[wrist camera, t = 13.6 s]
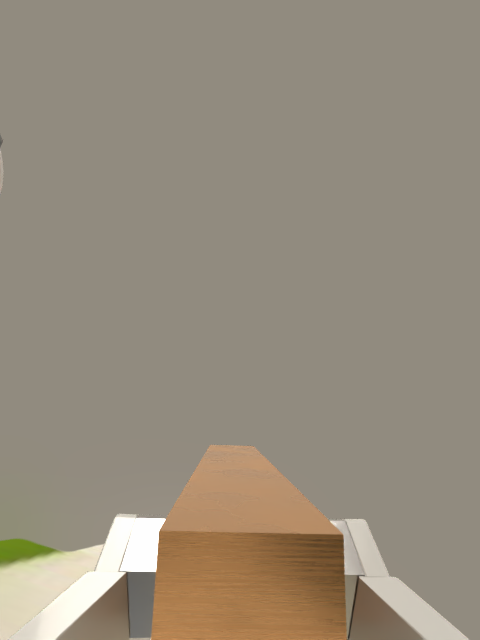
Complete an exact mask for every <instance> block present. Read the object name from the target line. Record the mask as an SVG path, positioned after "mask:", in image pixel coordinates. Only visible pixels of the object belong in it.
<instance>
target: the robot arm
mask: <svg viewBox="0 0 480 640" xmlns="http://www.w3.org/2000/svg"><path fill="white" fill-rule="evenodd" d="M2 142H3V140H2V138H1V135H0V147H1V144H2ZM2 184H3V161H2V156H1V150H0V195H1V190H2ZM166 518H167V516H162V515H161V516H160V515H140V514H139V515H131V514H117V516H116V517H115V518H114V520H113V523H112V525H111V528H110V531H109V534H108V536H107V539H106V541H105V544H104V546H103V549H102V552H101V554H100V557H99V560H98V562H97V565H96V567H95V570H94V572H86V573H85V574H84V575H83V576H82V577H80V578H79V579H78V580H77V581H76V582H75V583H73V584H72V585H71V586H70V587H69V588H68V589H66V590H65V591H64V592H63V593H62V594H60V595H59V596H58V597H57V598H56V599H55V600H53V601H52V602H51V603H50V604H49V605H48V606H46V607H45V608H44V609H43V610H42V611H41V612H39V613H38V614H37V615H36V616H35V617H34V618H32V619H31V620H30V621H29V622H28V623H26V624H25V625H24V626H23V627H22V628H21V629H19V630H18V631H17V632H16V633H15V634H14V635H12V636H11V637H10V638H9V639H8V640H129V638H151V634H152V620H153V606H154V591H155V577H156V563H157V548H158V534H159V529H160V528H161V526H162V524H163V523H164V521H165V519H166ZM328 520H329V521H330V522H331V523H332V524H333V525H334V526H335V527H336V528H337V529H338V530H339V531H340V532H341V533H342V534H343V535H344V566H345V598H346V630H347V640H469V639H468V638H467V637H466V636H464V635H463V634H462V633H461V632H460V631H459V630H458V629H456V628H455V627H454V626H453V625H452V624H451V623H449V622H448V621H447V620H446V619H445V618H444V617H442V616H441V615H440V614H439V613H438V612H436V611H435V610H434V609H433V608H432V607H431V606H430V605H428V604H427V603H426V602H424V600H422V599H421V598H420V597H419V596H418V595H417V594H416V593H414V592H413V591H412V590H411V589H410V588H409V587H407V586H406V585H405V584H404V583H403V582H402V581H400V580H399V579H398V578H397V577H390V576H389V573H388V571H387V569H386V566H385V564H384V562H383V559H382V557H381V555H380V552H379V550H378V548H377V545H376V543H375V541H374V538H373V536H372V534H371V531H370V529H369V527H368V524H367V522H366V521H365V520H364V519H344V520H342V519H328Z"/></svg>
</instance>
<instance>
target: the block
mask: <svg viewBox="0 0 480 640" xmlns="http://www.w3.org/2000/svg"><path fill="white" fill-rule="evenodd" d="M151 640H347V630H346V598H345V566H344V535H343V534H342V533H341V532H340V531H339V530H338V529H337V528H336V527H335V526H334V525H333V524H332V523H331V522H330V521H329V520H328V519H327V518H326V517H325V516H324V515H323V514H322V513H321V512H320V511H319V510H318V509H317V508H316V507H315V506H314V505H313V504H312V503H311V502H310V501H309V500H308V499H307V498H306V497H305V496H304V495H303V494H301V492H299V490H298V489H297V488H296V487H295V486H293V485H292V484H291V483H290V482H289V481H288V480H287V479H286V478H285V477H284V476H283V475H282V474H281V473H280V472H279V471H278V470H277V469H276V468H275V467H274V466H273V465H272V464H271V463H270V462H269V461H268V460H267V459H266V458H265V457H264V456H263V455H262V454H261V453H260V452H259V451H258V450H257V449H256V448H255V447H254V446H229V445H210V446H209V448H208V449H207V451H206V453H205V455H204V456H203V458H202V460H201V461H200V463H199V465H198V466H197V468H196V469H195V471H194V473H193V474H192V476H191V478H190V479H189V481H188V483H187V484H186V486H185V488H184V489H183V491H182V493H181V495H180V496H179V498H178V499H177V501H176V503H175V504H174V506H173V508H172V509H171V511H170V513H169V514H168V516H167V518H166V519H165V521H164V523H163V524H162V526H161V528H160V529H159V534H158V548H157V563H156V577H155V591H154V606H153V620H152V634H151Z"/></svg>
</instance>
